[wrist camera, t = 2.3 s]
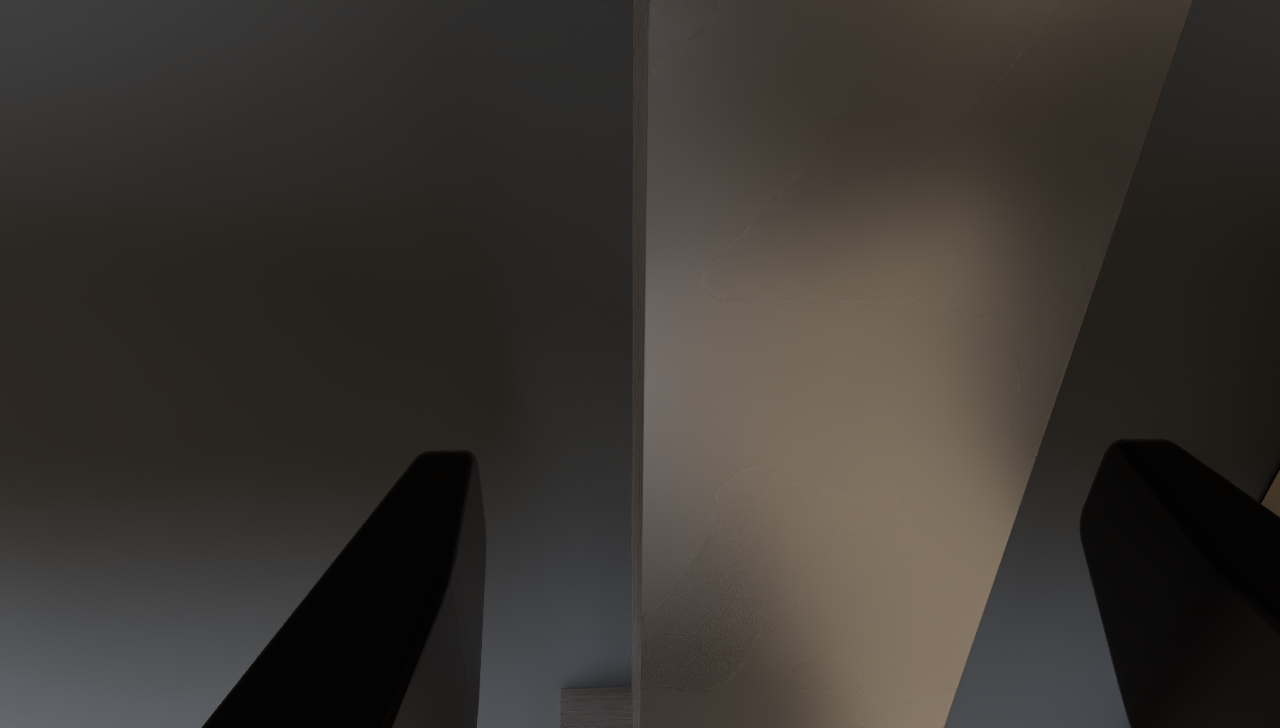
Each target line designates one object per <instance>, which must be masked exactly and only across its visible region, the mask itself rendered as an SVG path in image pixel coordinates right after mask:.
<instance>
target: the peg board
mask: <svg viewBox="0 0 1280 728" xmlns="http://www.w3.org/2000/svg"><path fill="white" fill-rule="evenodd" d="M1261 504H1262V505H1264V506H1265V507H1266V508H1268V509H1269V510H1271V511H1272V512H1274V513H1275V514H1276V515H1278V516H1279V517H1280V471H1279V473H1278V474H1277V476H1276V478H1275V480H1274V482H1273V483H1272V485H1271V487H1270V489H1269V491H1268V492H1267V494H1266V496H1265V498H1264V500H1263V501H1262V503H1261Z"/></svg>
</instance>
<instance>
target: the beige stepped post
mask: <svg viewBox="0 0 1280 728" xmlns="http://www.w3.org/2000/svg"><path fill="white" fill-rule="evenodd" d="M1192 1H1193V0H633V299H632V616H631V687H602V688H561V720H560V728H944V725H945V723H946V720H947V717H948V714H949V711H950V708H951V705H952V702H953V699H954V696H955V693H956V690H957V688H958V685H959V682H960V679H961V676H962V673H963V670H964V667H965V664H966V661H967V658H968V655H969V652H970V650H971V647H972V644H973V641H974V638H975V635H976V632H977V629H978V626H979V623H980V620H981V617H982V614H983V612H984V609H985V606H986V603H987V600H988V597H989V594H990V591H991V588H992V585H993V582H994V579H995V577H996V574H997V571H998V568H999V565H1000V562H1001V559H1002V556H1003V553H1004V550H1005V547H1006V544H1007V541H1008V539H1009V536H1010V533H1011V530H1012V527H1013V524H1014V521H1015V518H1016V515H1017V512H1018V509H1019V506H1020V503H1021V501H1022V498H1023V495H1024V492H1025V489H1026V486H1027V483H1028V480H1029V477H1030V474H1031V471H1032V468H1033V466H1034V463H1035V460H1036V457H1037V454H1038V451H1039V448H1040V445H1041V442H1042V439H1043V436H1044V433H1045V430H1046V428H1047V425H1048V422H1049V419H1050V416H1051V413H1052V410H1053V407H1054V404H1055V401H1056V398H1057V395H1058V392H1059V390H1060V387H1061V384H1062V381H1063V378H1064V375H1065V372H1066V369H1067V366H1068V363H1069V360H1070V357H1071V355H1072V352H1073V349H1074V346H1075V343H1076V340H1077V337H1078V334H1079V331H1080V328H1081V325H1082V322H1083V319H1084V317H1085V314H1086V311H1087V308H1088V305H1089V302H1090V299H1091V296H1092V293H1093V290H1094V287H1095V284H1096V281H1097V279H1098V276H1099V273H1100V270H1101V267H1102V264H1103V261H1104V258H1105V255H1106V252H1107V249H1108V246H1109V243H1110V241H1111V238H1112V235H1113V232H1114V229H1115V226H1116V223H1117V220H1118V217H1119V214H1120V211H1121V208H1122V206H1123V203H1124V200H1125V197H1126V194H1127V191H1128V188H1129V185H1130V182H1131V179H1132V176H1133V173H1134V170H1135V168H1136V165H1137V162H1138V159H1139V156H1140V153H1141V150H1142V147H1143V144H1144V141H1145V138H1146V135H1147V132H1148V130H1149V127H1150V124H1151V121H1152V118H1153V115H1154V112H1155V109H1156V106H1157V103H1158V100H1159V97H1160V95H1161V92H1162V89H1163V86H1164V83H1165V80H1166V77H1167V74H1168V71H1169V68H1170V65H1171V62H1172V59H1173V57H1174V54H1175V51H1176V48H1177V45H1178V42H1179V39H1180V36H1181V33H1182V30H1183V27H1184V24H1185V21H1186V19H1187V16H1188V13H1189V10H1190V7H1191V4H1192Z"/></svg>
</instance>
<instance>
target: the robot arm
mask: <svg viewBox="0 0 1280 728" xmlns="http://www.w3.org/2000/svg"><path fill="white" fill-rule="evenodd" d="M1080 536H1081V542H1082V546H1083V550H1084V554H1085V558H1086V562H1087V565H1088V569H1089V573H1090V577H1091V581H1092V585H1093V589H1094V593H1095V596H1096V600H1097V604H1098V608H1099V612H1100V616H1101V620H1102V624H1103V628H1104V631H1105V635H1106V639H1107V643H1108V647H1109V651H1110V655H1111V659H1112V662H1113V666H1114V670H1115V674H1116V678H1117V682H1118V686H1119V689H1120V693H1121V696H1122V700H1123V703H1124V707H1125V710H1126V714H1127V717H1128V720H1129V723H1130V726H1131V728H1280V517H1279V516H1278V515H1276V514H1275V513H1274V512H1272V511H1271V510H1269V509H1268V508H1266V507H1265V506H1264V505H1262V504H1261V503H1259V502H1258V501H1256V500H1255V499H1254V498H1252V497H1251V496H1249V495H1248V494H1247V493H1245V492H1244V491H1242V490H1241V489H1239V488H1238V487H1237V486H1235V485H1234V484H1232V483H1231V482H1230V481H1228V480H1227V479H1225V478H1224V477H1222V476H1221V475H1220V474H1218V473H1217V472H1215V471H1214V470H1213V469H1211V468H1210V467H1208V466H1207V465H1205V464H1204V463H1203V462H1201V461H1200V460H1198V459H1197V458H1196V457H1194V456H1193V455H1191V454H1190V453H1188V452H1187V451H1186V450H1184V449H1183V448H1181V447H1180V446H1178V445H1177V444H1175V443H1173V442H1171V441H1169V440H1164V439H1122V440H1118V441H1115V442H1114V443H1112V444H1111V445H1110V446H1109V447H1108V448H1107V450H1106V452H1105V454H1104V456H1103V459H1102V461H1101V464H1100V466H1099V469H1098V471H1097V474H1096V476H1095V479H1094V481H1093V484H1092V486H1091V489H1090V491H1089V494H1088V496H1087V499H1086V501H1085V504H1084V506H1083V509H1082V513H1081V518H1080ZM485 567H486V524H485V516H484V508H483V500H482V492H481V484H480V476H479V468H478V462H477V458H476V457H475V455H474V454H473V453H471V452H470V451H466V450H458V451H426V452H423V453H421V454H420V455H418V456H417V457H416V458H415V459H414V461H413V462H412V463H411V465H410V466H409V467H408V468H407V470H406V471H405V472H404V473H403V475H402V476H401V477H400V478H399V480H398V481H397V482H396V483H395V485H394V486H393V487H392V488H391V490H390V491H389V492H388V493H387V495H386V496H385V497H384V499H383V500H382V501H381V502H380V504H379V505H378V506H377V507H376V509H375V510H374V511H373V512H372V514H371V515H370V516H369V517H368V519H367V520H366V521H365V522H364V524H363V525H362V526H361V528H360V529H359V530H358V531H357V533H356V534H355V535H354V536H353V538H352V539H351V540H350V541H349V543H348V544H347V545H346V546H345V548H344V549H343V550H342V551H341V553H340V554H339V555H338V556H337V558H336V559H335V560H334V562H333V563H332V564H331V565H330V567H329V568H328V569H327V570H326V572H325V573H324V574H323V575H322V577H321V578H320V579H319V580H318V582H317V583H316V584H315V585H314V587H313V588H312V589H311V590H310V592H309V593H308V594H307V596H306V597H305V598H304V599H303V601H302V602H301V603H300V604H299V606H298V607H297V608H296V609H295V611H294V612H293V613H292V614H291V616H290V617H289V618H288V619H287V621H286V622H285V623H284V625H283V626H282V627H281V628H280V630H279V631H278V632H277V633H276V635H275V636H274V637H273V638H272V640H271V641H270V642H269V643H268V645H267V646H266V647H265V648H264V650H263V651H262V652H261V653H260V655H259V656H258V657H257V659H256V660H255V661H254V662H253V664H252V665H251V666H250V667H249V669H248V670H247V671H246V672H245V674H244V675H243V676H242V677H241V679H240V680H239V681H238V682H237V684H236V685H235V686H234V687H233V689H232V690H231V691H230V693H229V694H228V695H227V696H226V698H225V699H224V700H223V701H222V703H221V704H220V705H219V706H218V708H217V709H216V710H215V711H214V713H213V714H212V715H211V716H210V718H209V719H208V720H207V722H206V723H205V724H204V725H203V727H202V728H477V717H478V705H479V687H480V667H481V647H482V627H483V607H484V587H485Z"/></svg>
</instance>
